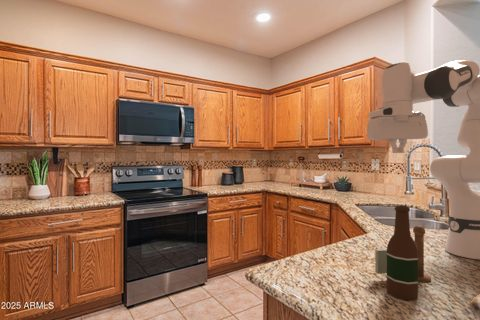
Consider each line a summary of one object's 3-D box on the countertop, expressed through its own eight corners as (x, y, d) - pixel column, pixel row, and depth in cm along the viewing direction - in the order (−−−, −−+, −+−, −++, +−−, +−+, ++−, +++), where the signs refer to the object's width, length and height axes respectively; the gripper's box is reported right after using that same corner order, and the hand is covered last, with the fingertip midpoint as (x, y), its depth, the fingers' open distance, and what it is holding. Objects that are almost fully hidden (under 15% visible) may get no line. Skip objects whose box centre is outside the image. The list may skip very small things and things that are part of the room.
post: (420, 273, 88) (420, 223, 88) (435, 281, 82) (435, 227, 82) (403, 274, 87) (403, 223, 87) (418, 282, 81) (417, 228, 81)
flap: (411, 270, 85) (411, 248, 85) (414, 272, 84) (414, 249, 84) (375, 272, 84) (375, 249, 84) (377, 273, 82) (377, 250, 83)
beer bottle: (424, 303, 69) (424, 209, 69) (391, 300, 71) (391, 207, 71) (412, 289, 77) (412, 204, 77) (382, 286, 78) (382, 203, 78)
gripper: (417, 113, 96) (418, 152, 96) (363, 113, 93) (364, 154, 93) (432, 110, 89) (433, 152, 89) (375, 110, 86) (376, 153, 86)
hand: (398, 153), depth 91 cm, fingers closed
